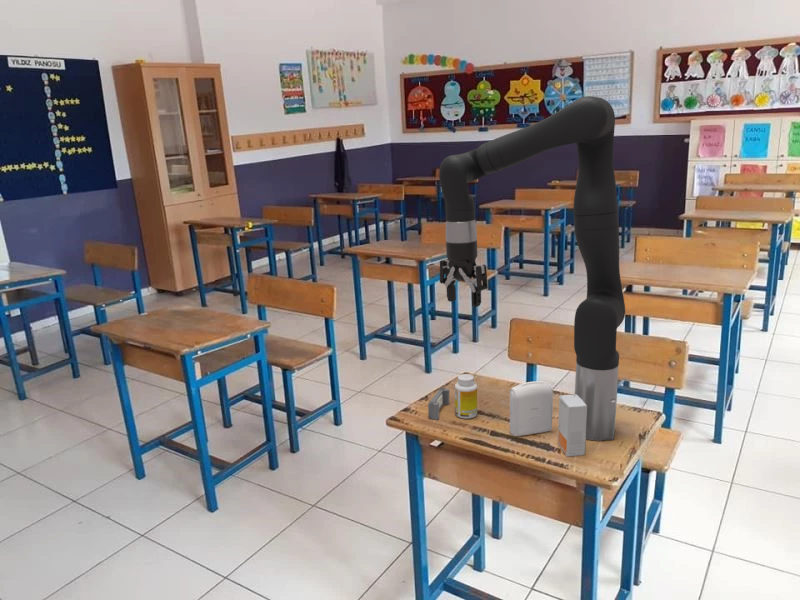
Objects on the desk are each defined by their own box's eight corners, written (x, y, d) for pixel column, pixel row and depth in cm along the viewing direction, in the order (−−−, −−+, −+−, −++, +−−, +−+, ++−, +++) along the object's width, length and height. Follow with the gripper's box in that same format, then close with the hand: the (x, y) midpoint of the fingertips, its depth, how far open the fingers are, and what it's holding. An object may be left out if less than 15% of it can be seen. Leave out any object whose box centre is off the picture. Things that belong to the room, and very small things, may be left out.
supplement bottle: (481, 414, 157) (481, 377, 155) (466, 421, 154) (465, 383, 151) (466, 407, 162) (465, 370, 159) (450, 414, 158) (449, 376, 155)
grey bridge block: (449, 403, 165) (449, 389, 163) (437, 419, 156) (437, 404, 154) (440, 402, 165) (440, 388, 164) (428, 418, 156) (428, 403, 155)
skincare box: (556, 443, 142) (558, 395, 139) (575, 442, 143) (577, 393, 139) (566, 457, 136) (568, 406, 133) (585, 455, 137) (588, 405, 134)
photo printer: (513, 438, 145) (514, 389, 142) (506, 430, 149) (507, 381, 146) (554, 432, 147) (556, 383, 144) (546, 424, 152) (548, 376, 148)
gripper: (493, 239, 149) (495, 305, 153) (452, 234, 159) (454, 296, 163) (471, 243, 144) (473, 311, 148) (430, 238, 155) (433, 302, 159)
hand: (463, 303), depth 156 cm, fingers open, 8 cm apart
